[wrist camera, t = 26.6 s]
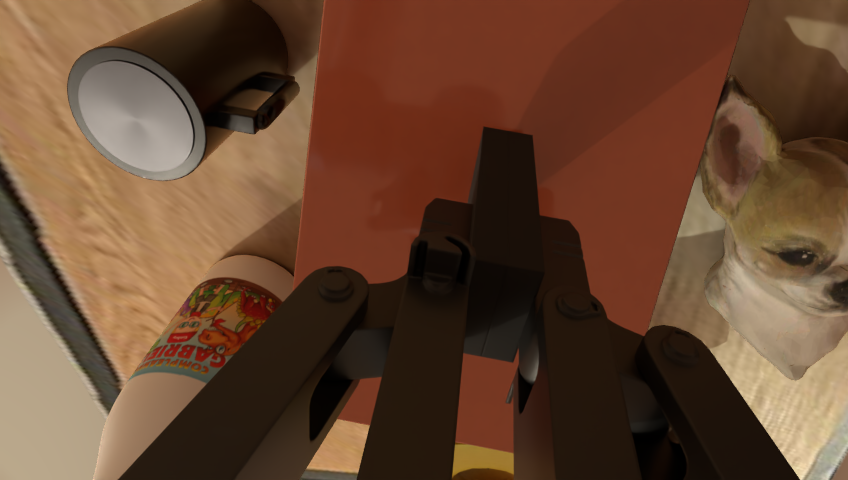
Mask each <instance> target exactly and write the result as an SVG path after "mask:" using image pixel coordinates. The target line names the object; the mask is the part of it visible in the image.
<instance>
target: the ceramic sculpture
mask: <svg viewBox="0 0 848 480" xmlns="http://www.w3.org/2000/svg"><path fill="white" fill-rule="evenodd" d="M700 169H701V178H702V185H703V193H704V195H705V197H706V198H707V200H708V202H709V204H710V206H711V207H712V209H713V210H714V211H716V212H717V213H718V214H719V215H721V216H722V218H723V219H724V220H725V221H726V230H725V235H724V239H723V242H724V249H725V254H724V256H723V257H722V258H721V259H720V260H719V261H717V262H716V263H715V264H714V265H713V266H712V267H711V268H710V270H709V272H708V274H707V276H706V277H705V280H704V292H705V296H706V298H707V301H708V303H709V304H710V305H711V306H712V307H713V308H714V309H715V310H717V311H718V312H719V313H720V314H721V315H722V316H723V317H724V319H725V320H726V321H727V322H728V323H729V324H730V325H731V326H732V327H733V328H734V329H735V330H736V331H737V332H738V333H739V334H740V335H741V336H742V337H743V338H745V339H746V340H747V341H748V342H749V343H750V344H751V345H752V346H753V347H754V348H755V349H756V350H757V351H758V352H759V354H760V355H761V356H763V357H764V358H766V359H767V360H768V361H769V362H771V363H772V364H773V365H774V366H775V367H776V368H777V369H778V370H779V371H780V372H781V373H782V374H784V375H785V376H786V377H787V378H789V379H791V380H799V379H800V378H802V377H803V375H804V373H805V372H806V370H807V369H808V368H809V367H810V366H812V365H813V364H814V363H816V362H817V361H819V360H820V359H821V358H822V357H824V356H825V355H826V354H828V353H829V352H831V351H832V350H833V349H834V348H836V346H837V345H838V343H839V341H840V340H841V338H842V337H843V336H844V335H845V333H846V332H847V331H848V143H847V142H845V141H842V140H837V139H832V138H822V137H810V138H805V139H800V140H795V141H790V142H788V143H785V144H783V145H782V139H781V136H780V132H779V129H778V127H777V124H776V121H775V119H774V118H773V116H772V114H771V112H769V111H768V110H767V109H766V108H765V107H763V106H762V105H761V104H760V103H758V102H757V101H756V100H755V99H754V98H753V97H751V96H750V95H749V94H748V93H747V92H746V91H745V90H744V88H743V87H742V85H741V83H740V82H739V80H738V79H737V77H736V76H729V77H728V79H727V81H726V82H725V84H724V86H723V89H722V92H721V95H720V99H719V102H718V105H717V108H716V112H715V115H714V118H713V121H712V124H711V128H710V131H709V134H708V137H707V140H706V144H705V147H704V150H703V153H702V157H701V160H700Z"/></svg>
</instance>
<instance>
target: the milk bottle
mask: <svg viewBox="0 0 848 480" xmlns="http://www.w3.org/2000/svg"><path fill="white" fill-rule="evenodd" d="M293 281H294V277H293V276H292V275H291V274H290V273H289V272H288V271H286V270H285V269H284V268H283V267H281V266H279V265H278V264H276V263H274V262H272V261H269V260H267V259H265V258H261V257H257V256H250V255H235V256H231V257H227V258H225V259H223V260H221V261H219V262H217V263H215V264H214V265H213V266H212V267H211V268H210V269H209V271H208V272H207V273H206V274H205V276H204V277H203V278H202V280H201V281H200V282H199V284H198V285H197V286H196V288H195V289H194V290H193V292H192V293H191V294H190V296H189V297H188V298H187V300H186V301H185V303H184V304H183V305H182V307H181V308H180V309H179V311H178V312H177V313H176V315H175V316H174V317H173V319H172V320H171V322H170V323H169V324H168V326H167V327H166V328H165V330H164V331H163V332H162V334H161V335H160V337H159V338H158V339H157V341H156V342H155V344H154V345H153V346H152V348H151V349H150V351H149V352H148V353H147V355H146V356H145V357H144V359H143V360H142V362H141V363H140V364H139V366H138V367H137V369H136V370H135V372H134V373H133V375H132V376H131V377H130V379H129V380H128V382H127V383H126V385H125V386H124V388H123V389H122V391H121V392H120V394H119V396H118V398H117V400H116V401H115V403H114V405H113V407H112V409H111V411H110V413H109V416H108V418H107V421H106V423H105V427H104V430H103V433H102V438H101V443H100V448H99V454H98V459H97V465H96V469H95V474H94V477H93V480H118V479H119V478H120V477H121V476H122V474H123V473H124V472H125V471H126V470H127V469H128V468H129V467H130V466H131V465H132V464H133V463H134V462H135V460H136V459H137V458H138V457H139V456H140V455H141V454H142V453H143V452H144V451H145V450H146V449H147V448H148V446H149V445H150V444H151V443H152V442H153V441H154V440H155V439H156V438H157V437H158V436H159V435H160V434H161V433H162V431H163V430H164V429H165V428H166V427H167V426H168V425H169V424H170V423H171V422H172V421H173V420H174V419H175V417H176V416H177V415H178V414H179V413H180V412H181V411H182V410H183V409H184V408H185V407H186V406H187V405H188V403H189V402H190V401H191V400H192V399H193V398H194V397H195V396H196V395H197V394H198V393H199V392H200V391H201V390H202V388H203V387H204V386H205V385H206V384H207V383H208V382H209V381H210V380H211V379H212V378H213V377H214V376H215V374H216V373H217V372H218V371H219V370H220V369H221V368H222V367H223V366H224V365H225V364H226V363H227V362H228V360H229V359H230V358H231V357H232V356H233V355H234V354H235V353H236V352H237V351H238V350H239V349H240V348H241V347H242V345H243V344H244V343H245V342H246V341H247V340H248V339H249V338H250V337H251V336H252V335H253V334H254V333H255V331H256V330H257V329H258V328H259V327H260V326H261V325H262V324H263V323H264V322H265V321H266V320H267V319H268V317H269V316H270V315H271V314H272V313H273V312H274V311H275V310H276V309H277V308H278V307H279V306H280V305H281V304H282V302H283V301H284V300H285V299H286V298H287V297H288V296H289V295H290V294H291V293H292V290H293Z"/></svg>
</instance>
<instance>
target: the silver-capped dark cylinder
mask: <svg viewBox="0 0 848 480" xmlns="http://www.w3.org/2000/svg"><path fill="white" fill-rule="evenodd" d="M287 68H288V53H287V48H286V44H285V41H284V38H283V36H282V34H281V32H280V30H279V28H278V26H277V25H276V23H275V22H274V21H273V19H272V18H271V17H270V16H269V15H268V14H267V13H266V12H265V11H264V10H263V9H262V8H261V7H259V6H258V5H256V4H255V3H253V2H251V1H249V0H202V1H199V2H197V3H195V4H193V5H190V6H188V7H186V8H184V9H181V10H179V11H177V12H175V13H172V14H170V15H168V16H166V17H163V18H161V19H159V20H157V21H154V22H152V23H150V24H148V25H145V26H143V27H141V28H139V29H136V30H134V31H132V32H130V33H127V34H125V35H123V36H121V37H118V38H116V39H114V40H112V41H109V42H107V43H105V44H103V45H100V46H98V47H96V48H94V49H91V50H89V51H87V52H86V53H84V54H83V55H81V56H80V57H79V58H78V59H77V60H76V62H75V63H74V65H73V66H72V69H71V71H70V73H69V77H68V83H67V93H68V100H69V105H70V108H71V111H72V114H73V116H74V118H75V120H76V123H77V125H78V126H79V128H80V129H81V131H82V133H83V134H84V135H85V137H86V138H87V139H88V141H89V142H90V143H91V144H92V145H93V146H94V148H96V149H97V150H98V151H99V152H100V153H101V154H102V155H103V156H104V157H105V158H107V159H108V160H109V161H111V162H112V163H113V164H115V165H116V166H118V167H120V168H121V169H123V170H125V171H127V172H129V173H131V174H134V175H136V176H139V177H142V178H146V179H150V180H158V181H168V180H175V179H179V178H182V177H184V176H186V175H188V174H190V173H191V172H193V171H194V170H195V169H196V168H197V167H198V166H199V165H200V164H201V163H202V162H203V161H204V160H205V159H206V158H207V157H208V156H209V155H210V154H211V153H213V152H214V151H215V150H216V149H217V148H218V147H219V146H220V145H221V144H222V143H223V142H224V141H225V140H226V139H227V138H228V137H229V136H230V135H231V134H232V133H233V132H234V131H238V132H244V133H249V134H256V133H257V132H258V131H259V130H263V129H266V128H267V127H269V125H270V124H271V123H272V122H273V121H274V120H275V119H276V118H277V117H278V116H279V115H280V113H281V112H282V111H283V110H284V109H285V108H286V107H287V106H288V105H289V104H290V102H291V101H292V100H293V99H294V98H295V97H296V96H297V95H298V93H299V91H300V87H299V85H298V83H297V82H295V77H294V76H289V75H286V73H287Z"/></svg>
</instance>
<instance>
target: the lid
mask: <svg viewBox="0 0 848 480" xmlns="http://www.w3.org/2000/svg"><path fill="white" fill-rule="evenodd" d="M749 2H750V0H324V4H323V13H322V22H321V31H320V41H319V50H318V59H317V68H316V78H315V87H314V96H313V105H312V115H311V124H310V133H309V142H308V152H307V161H306V170H305V179H304V189H303V198H302V207H301V216H300V226H299V235H298V244H297V253H296V263H295V272H294V281H293V290H292V292H293V291H294V290H295V288H296V287H297V286H298V285H299V284H300V283H301V282H302V281H303V280H304V279H305V278H306V277H307V276H308V275H309V274H311V273H312V272H314V271H315V270H317V269H321V268H324V267H327V266H342V267H347V268H351V269H353V270H355V271H357V272H359V273H361V274H362V275H363V276H364V278H365V279H366V280H367V281H368V284H374V283H385V282H390V281H394V280H397V279H399V278H400V277H402V276H404V275H405V274H406V273H407V270H408V263H409V256H410V249H411V244H412V242H413V241H414V239H415V238H416V237H418V236H419V232H420V228H421V224H422V220H423V215H424V211H425V207H426V206H427V205H428V204H429V203H430V202H432V201H433V200H434V199H435V198H440V199H446V200H451V201H457V202H462V203H467V202H468V197H469V192H470V188H471V183H472V178H473V173H474V169H475V164H476V159H477V155H478V150H479V145H480V140H481V136H482V131H483V126H484V127H490V128H495V129H501V130H507V131H512V132H518V133H524V134H529V135H533V144H534V156H535V167H536V178H537V189H538V200H539V212H540V215H542V216H547V217H553V218H558V219H564V220H569V221H570V222H571V224H572V225H573V226H574V227H575V229H576V230H577V231H578V233H579V236H580V241H581V248H582V251H583V259H584V262H585V267H586V272H587V277H588V283H589V288H590V293H591V294H592V295H593V296H595V297H596V298H597V299H598V300H599V301H600V302H601V303H602V305H603V307H604V309H605V311H606V314H607V318H608V319H609V320H611V321H612V322H614V323H615V324H617V325H619V326H621V327H623V328H626V329H628V330H631V331H633V332H635V333H638V334H640V335H642V336H645V334H646V332H647V330H648V327H649V324H650V321H651V317H652V314H653V311H654V308H655V305H656V301H657V298H658V295H659V292H660V288H661V285H662V282H663V279H664V276H665V272H666V269H667V266H668V263H669V260H670V256H671V253H672V250H673V247H674V243H675V240H676V237H677V234H678V231H679V227H680V224H681V221H682V218H683V214H684V211H685V208H686V205H687V202H688V198H689V195H690V192H691V189H692V186H693V182H694V179H695V176H696V173H697V169H698V166H699V163H700V160H701V157H702V153H703V150H704V147H705V144H706V140H707V137H708V134H709V131H710V128H711V124H712V121H713V118H714V115H715V112H716V108H717V105H718V102H719V99H720V95H721V92H722V89H723V86H724V83H725V79H726V76H727V73H728V70H729V66H730V63H731V60H732V57H733V54H734V50H735V47H736V44H737V41H738V38H739V34H740V31H741V28H742V25H743V21H744V18H745V15H746V12H747V9H748V5H749ZM518 365H519V348H518V351H517V354H516V357H515V359H514V362H513V363H512V362H507V361H501V360H496V359H491V358H486V357H480V356H475V355H470V354H465V353H463V362H462V373H461V384H460V395H459V406H458V417H457V429H456V440H455V442H457V443H463V444H468V445H473V446H478V447H483V448H488V449H493V450H498V451H503V452H508V453H514V442H513V398H512V401H511V403H510V404H508V403H506V399H507V395H508V392H509V390H510V387H511V384H512V381H513V378H514V376H515V373H516V370H517V367H518ZM381 378H382V377H377V378H366V379H360V381H359V384H358V386H357V387H356V389H355V391H354V392H353V394H352V395H351V397H350V399H349V400H348V402H347V403H346V405H345V407H344V408H343V410H342V411H341V413H340V415H339V416H338V418H337V419H340V420H345V421H350V422H355V423H360V424H366V425H370V423H371V419H372V415H373V411H374V407H375V403H376V399H377V395H378V391H379V387H380V383H381Z"/></svg>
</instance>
